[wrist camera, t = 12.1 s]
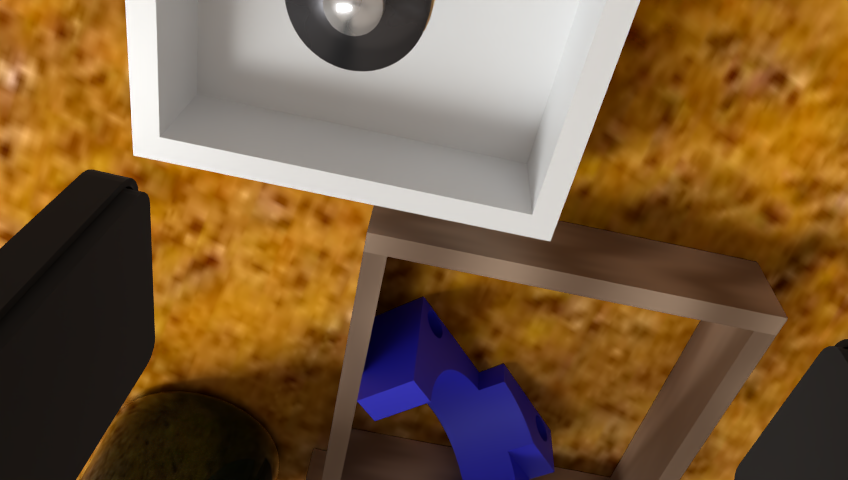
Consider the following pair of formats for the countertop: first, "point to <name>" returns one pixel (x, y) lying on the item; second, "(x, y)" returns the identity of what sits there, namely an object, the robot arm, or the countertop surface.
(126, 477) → the dark green wine bottle
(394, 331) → the cable clip
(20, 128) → the countertop surface
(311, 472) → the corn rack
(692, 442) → the brown hollow square frame
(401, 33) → the battery cell
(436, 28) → the bin
